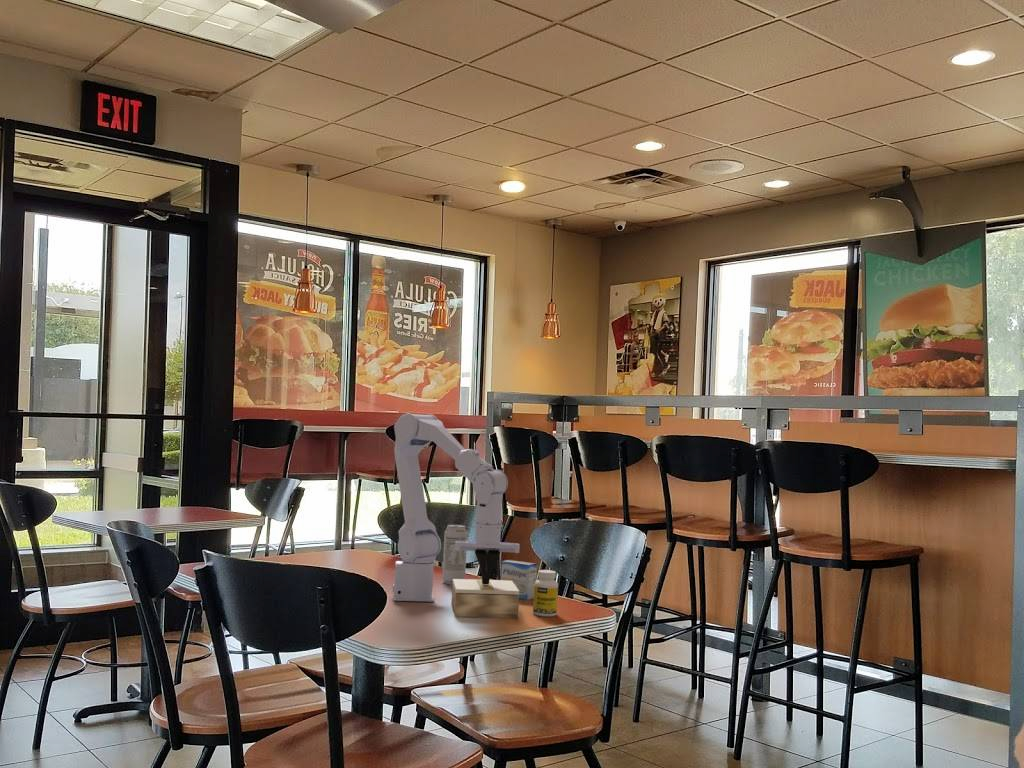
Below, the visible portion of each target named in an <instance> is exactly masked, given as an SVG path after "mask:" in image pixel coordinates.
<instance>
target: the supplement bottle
mask: <svg viewBox="0 0 1024 768" xmlns="http://www.w3.org/2000/svg"><path fill="white" fill-rule="evenodd" d="M537 571H538V572H537V578H538V579H536V582H535V586H534V598H533V603H532V604H533V605H532V613H533V615H534V616H538V617H555V616H556V615H557V612H558V596H559V595H558V594H559V583H558V582H557V581H556V580H555V579H556V575H557V572H556V571H555V570H552V569H540V570H537Z"/></svg>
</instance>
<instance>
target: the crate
mask: <svg viewBox="0 0 1024 768" xmlns="http://www.w3.org/2000/svg"><path fill="white" fill-rule="evenodd" d="M451 585H452V588H451V603H450V604H451V608H452V611H453V615H454V617H455V618H480V619H481V618H487V619H488V618H490V619H491V618H492V619H519V608H520V605H519V603H520V599H519V595H512V594H478V593H456V591H455V588H454V585H453V582H452V584H451Z"/></svg>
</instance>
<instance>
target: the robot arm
mask: <svg viewBox="0 0 1024 768" xmlns="http://www.w3.org/2000/svg"><path fill="white" fill-rule="evenodd" d="M393 429H394V435H395V443H394V447H393V449H394V450H393V452H394V459H395V466H396V471H397V477H398V478H397V479H398V485H399V492H400V499H401V505H402V511H403V513H402V514H403V518H404V523H403V525H402V526H401V527H400V529H399V530H398V531H397V532H398V542H397V552H398V555H399V556H400V558H401V560H396V561H395V564H394V565H395V567H394V581H393V584H392V590H391V591H392V593H393V601H394V602H395V601H397V602H435V598H434V596H435V595H434V593H433V585H434V583H433V582H434V564H435V561H436V558H437V556H438V555H440V552H441V549H442V542H441V538H440V536H439V535H438V532H437V529H436V526H435V524H434V523H432V522H431V521H430V519H429V518H428V513H427V505H426V500H425V498H426V497H425V491H424V487H423V479H422V475H421V469H420V461H419V454H420V453H421V452H422V450H423V449H424V448H425V447H427V445H429V444H430V443H431V442H433V443H434V444H435V445H436V446H438V448H440V449H441V450H442V451H444V452H445V453H446V454H447V455H448V456H450V457H451V458H452V459H453V460H454V466H455V468H456V469H457V470H458V471H459V472H460V473H461V474H462V475H463V476H464V477H466V479H467V480H468V481H469V482H471V483H472V489H473V491H474V493H475V500H476V518H475V519H476V520H475V522H476V523H475V535H474V536H475V537H474V540H467V541H455V550H456V551H460V550H463V551H466V552H469V551H470V552H474V553H475V554H474V555H475V557H476V560H477V563H478V566H479V569H480V574H481V579H482V584H489V580H491V579H490V578H491V576H492V573H493V570H494V567H495V566H496V564H497V562H498V560H499V557H500V553H515V554H520V547H521V546H520V543H515V542H505V541H504V542H503V541H501V533H502V512H503V497H504V496H503V494H505V492H506V491H507V489H509V479H508V477H507V475H506V473H505V472H504V470H502V469H494V466H493V465H492V464H491V463H488V462H487V461H486V460H485V459H484V458H482V457H481V456H480V454H481V453H480V452H479V450H477V449H475V450H474V449H473V448H468V449H467V448H466V449H465V448H464V446H463V445H462V444H461V443H460V442H459V441H458V439H456V438H455V437H454V436H453V435H452V434H451V433H450V431H449V430H447V428H446V427H445V426H444V423H443V421H441V420H440V419H438V418H437V417H436V415H434V414H418V413H417V414H415V413H408V412H407V413H403V414H401V416H400V417H399V418H398V419H397V420H396V422H395V424H394V426H393Z"/></svg>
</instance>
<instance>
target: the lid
mask: <svg viewBox="0 0 1024 768" xmlns="http://www.w3.org/2000/svg"><path fill="white" fill-rule="evenodd" d="M453 585H454V588H455V591H456V593H478V594H512V595H519V590H518V589H517V587H516V586H515V584H514V583H513V581H507V580H501V579H490V580H489V584H482V578H480V579H479V578H476V579H475V578H473V579H472V578H471V579H469V578H465V579H453Z"/></svg>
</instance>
